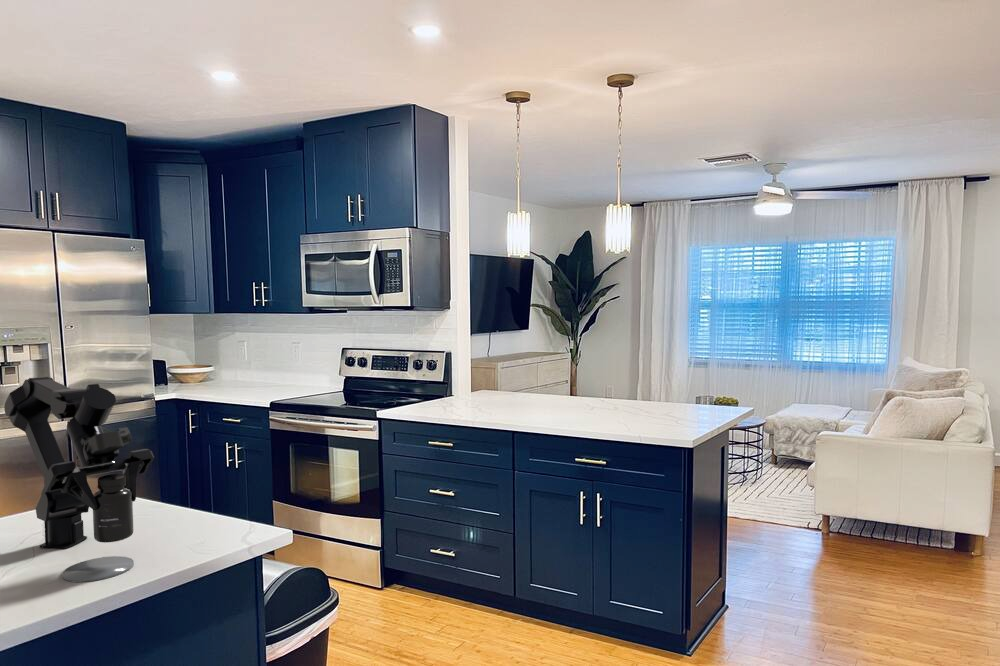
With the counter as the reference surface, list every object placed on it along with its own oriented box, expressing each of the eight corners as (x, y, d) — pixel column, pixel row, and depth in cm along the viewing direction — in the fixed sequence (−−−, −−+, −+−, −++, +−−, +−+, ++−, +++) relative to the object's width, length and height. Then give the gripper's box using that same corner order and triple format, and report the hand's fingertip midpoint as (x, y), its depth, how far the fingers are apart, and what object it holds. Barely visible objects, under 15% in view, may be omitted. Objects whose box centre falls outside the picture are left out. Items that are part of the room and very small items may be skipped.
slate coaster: (46, 581, 129) (46, 578, 129) (90, 558, 141) (90, 555, 141) (107, 582, 128) (107, 580, 128) (146, 559, 140) (146, 556, 140)
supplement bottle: (103, 546, 131) (99, 484, 130) (88, 538, 135) (84, 478, 134) (140, 535, 136) (137, 475, 136) (124, 528, 141) (121, 470, 140)
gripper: (48, 422, 129) (74, 491, 123) (149, 410, 144) (177, 470, 138) (33, 458, 135) (57, 525, 128) (132, 442, 149) (158, 502, 143)
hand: (115, 504), depth 134 cm, fingers closed on supplement bottle, 7 cm apart
